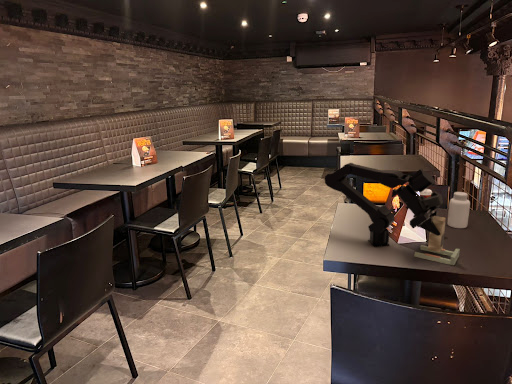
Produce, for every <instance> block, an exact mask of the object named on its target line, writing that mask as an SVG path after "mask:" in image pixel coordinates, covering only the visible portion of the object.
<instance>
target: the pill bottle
mask: <svg viewBox="0 0 512 384" xmlns="http://www.w3.org/2000/svg"><path fill="white" fill-rule="evenodd" d="M468 197H469V194H468V193H467V192H462V191H454V193H453V197H452V198H451V199H449V205H448V213H447V226H449V227H451V228H455V229H466V228H467V227H468V222H469V214H470V208H471V201H470V200H469V199H468Z"/></svg>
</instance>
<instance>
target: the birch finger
mask: <svg viewBox="0 0 512 384" xmlns="http://www.w3.org/2000/svg"><path fill="white" fill-rule="evenodd" d="M446 219H447V218H446V217H443V216H439V215H437V216H433V219H432V221H433V223H434V224H435V226H436V227H437V229H438V230H439V232H440V235H439V236H437V235H435V234H433V233H431V232H429V235H428V250H432V251H436V252H440V251H441V250H442V249H444V248H443V245H444V242H445V240H444V239H445V229H446Z"/></svg>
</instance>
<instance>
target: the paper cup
mask: <svg viewBox="0 0 512 384" xmlns="http://www.w3.org/2000/svg"><path fill="white" fill-rule="evenodd" d="M431 193H433V191H432V190H431V189H429V188H426V189H425V190H424V191H422V192H420V196H421V195H422V196H424V198H428V197H431Z"/></svg>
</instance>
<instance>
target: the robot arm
mask: <svg viewBox="0 0 512 384" xmlns="http://www.w3.org/2000/svg"><path fill="white" fill-rule="evenodd" d="M349 175H352V176H356V177H360V178H364V179H368V180H373V181H376V182H378V183H379V184H380V185H382V186H385V187H387V188H388V189H391V198H395V197H396V195H397V196H398V197H399V198H400V200H401V201H402V202H403V204H405V208H406V210H410V212H411V213H412V214H413V218H411V219H410V220H409V226H410V227H411V228H412V229H415V228H416V227H417V228H421V229H423V230H425V231H427V232H429V233H430V232H431V233H433V234H435V235H437V236H439V235H440V232H439V230H438V229H437V227H436V226H435V224H434V223H433V221H432V219H433V216H438V212H439V208H440V206H441V205H442V204H443V203H444V201H443V195H442V194H441V193H439V192H437V191H432V193H431V197H428V198H424V196H422V195H421V196H419V195H418V194H417V193H416V192H418V191H419V192H422V191H424V190H425V189H429V187H431V186H432V185H433V184H435V179H434V177H433V176H432V175H431V174H430V173H429V172H427V171H426V170H423V168H420V169H418V170H417V171H416V172H415V173H414V174H412V175H408V174H404V173H403V172H402V171H401V170H396V169H377V168H373V167H369V166H364V165H360V164H355V163H353V162H349V163H345V164H344V165H343V166H342V167H340V168H339V169H337V170H334V171H332V172H330V173H327V174H326V175H325V177H324V184H325V185H326V186H327V187H328V188H330V189H332V190H334V191H337V192H340V193H341V194H343V195H344V196H346V197H347V199H349V200H350V201H351V202H353V203H354V204H355V205H356V206H358V207H359V209H361V210H362V211H363V212H365V213H366V214H367V215H368V217H369V218H370V221H371V222H372V223H370V225H368V226H367V227H368V230H369V239H368V240H367V242H368V243H369V244H370V245H371V246H372V247H374V248H378V247H379V248H380V247H389V246H390V241H389V240H390V232H389V229H388V228H389V227H390V226H392V224H393V223H394V222H395V215H394V213H393V210H391V209H389V208H388V207H387V206H386V205H385V204H383V205H381V206H378V205H376V204H375V203H374V202H373V201H371V200H370V199H369V198H367V197H366V196H365V195H364V194H362V193H361V192H360V191H359V190H357V189H356V188H355V187H354V186H353V185H351V184H350V183H349V180H348V179H347V177H348V176H349ZM407 183H408V184H407ZM397 187H398V188H397ZM416 195H417V196H416Z"/></svg>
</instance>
